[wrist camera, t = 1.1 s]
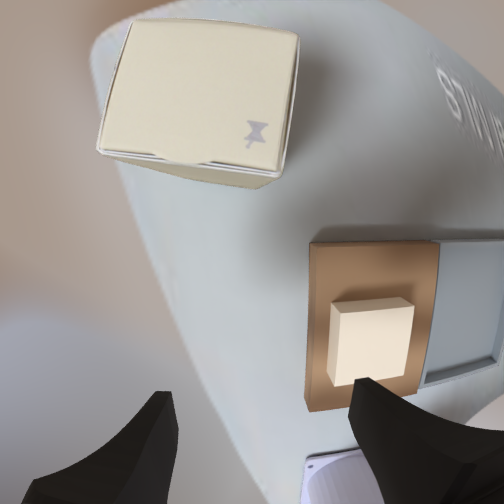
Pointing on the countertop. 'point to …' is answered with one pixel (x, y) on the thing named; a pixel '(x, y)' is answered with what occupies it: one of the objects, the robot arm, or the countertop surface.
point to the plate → (366, 288)
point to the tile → (368, 339)
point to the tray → (466, 311)
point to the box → (202, 100)
